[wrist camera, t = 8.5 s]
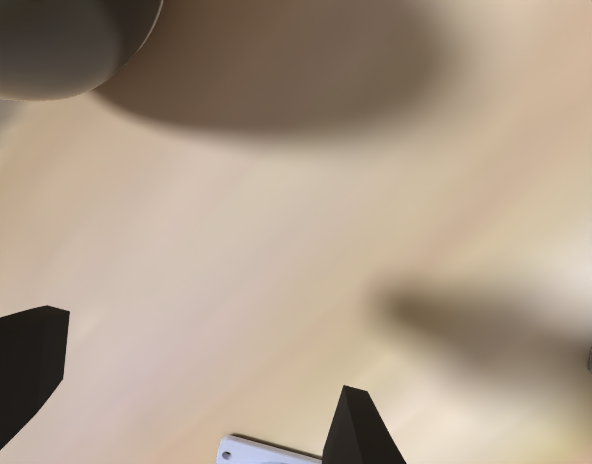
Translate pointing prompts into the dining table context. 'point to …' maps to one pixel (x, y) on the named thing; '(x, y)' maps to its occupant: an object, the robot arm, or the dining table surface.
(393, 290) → the dining table surface
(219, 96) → the dining table surface
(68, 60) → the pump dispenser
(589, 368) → the slate base
